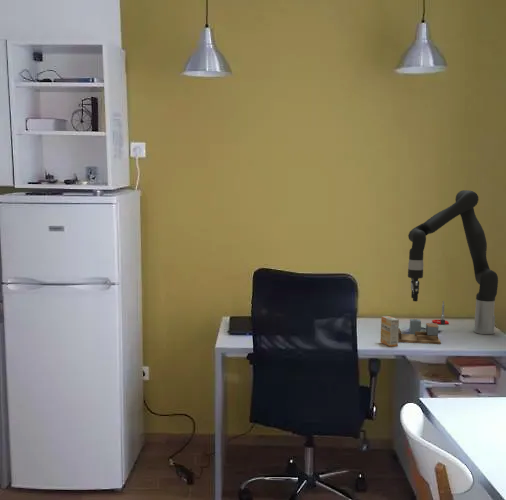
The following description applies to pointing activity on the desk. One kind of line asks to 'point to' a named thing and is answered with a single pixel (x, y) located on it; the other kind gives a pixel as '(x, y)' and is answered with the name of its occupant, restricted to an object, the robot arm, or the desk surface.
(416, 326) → the block
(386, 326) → the supplement box
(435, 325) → the grey cube
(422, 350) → the desk surface
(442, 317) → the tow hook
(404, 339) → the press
